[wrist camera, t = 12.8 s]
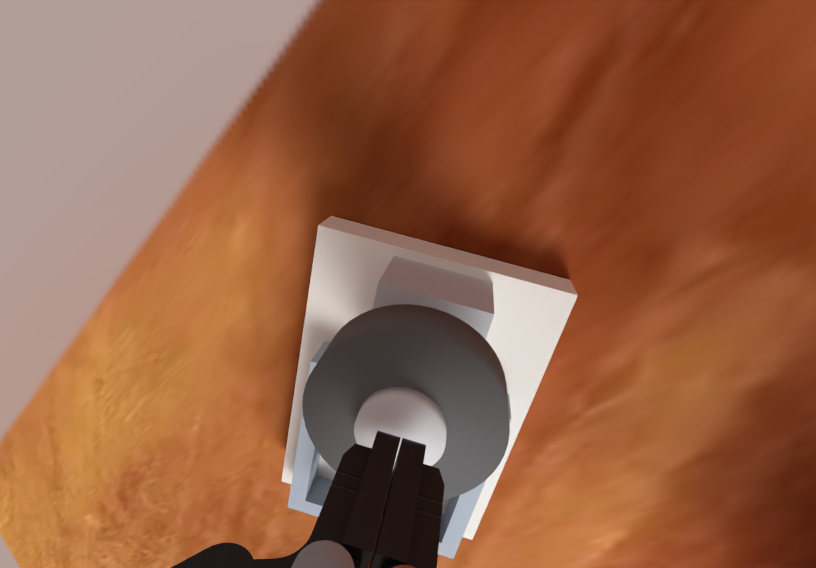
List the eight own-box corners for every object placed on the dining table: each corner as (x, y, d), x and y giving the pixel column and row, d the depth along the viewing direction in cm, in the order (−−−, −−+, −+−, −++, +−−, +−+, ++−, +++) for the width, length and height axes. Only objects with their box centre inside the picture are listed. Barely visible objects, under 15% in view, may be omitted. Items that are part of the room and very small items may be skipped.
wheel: (525, 297, 18) (543, 380, 12) (476, 427, 20) (474, 540, 15) (360, 252, 18) (309, 314, 13) (335, 385, 21) (284, 481, 16)
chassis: (570, 279, 22) (595, 330, 17) (472, 513, 30) (470, 596, 25) (331, 215, 23) (289, 246, 18) (293, 458, 31) (256, 528, 26)
